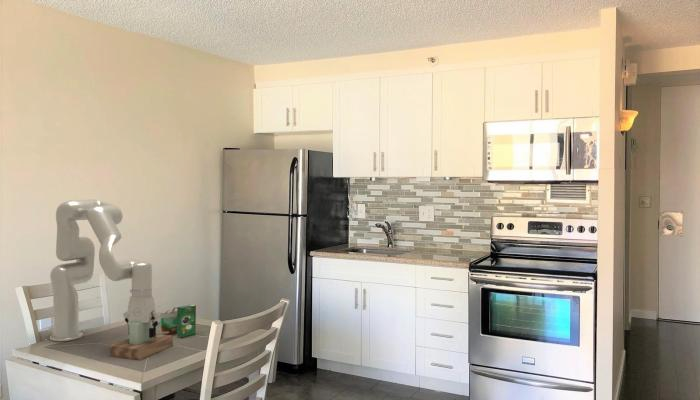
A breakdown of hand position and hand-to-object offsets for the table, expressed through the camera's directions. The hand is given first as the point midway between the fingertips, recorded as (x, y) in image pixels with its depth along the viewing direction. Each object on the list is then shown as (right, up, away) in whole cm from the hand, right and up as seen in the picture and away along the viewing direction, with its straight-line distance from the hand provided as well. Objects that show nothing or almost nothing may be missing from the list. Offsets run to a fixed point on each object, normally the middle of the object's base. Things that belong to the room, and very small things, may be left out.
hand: (142, 335), depth 225 cm
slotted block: (0, -6, 0) cm, 6 cm away
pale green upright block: (0, -6, 0) cm, 6 cm away
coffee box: (+11, -5, +22) cm, 25 cm away
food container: (+4, -5, +26) cm, 27 cm away
